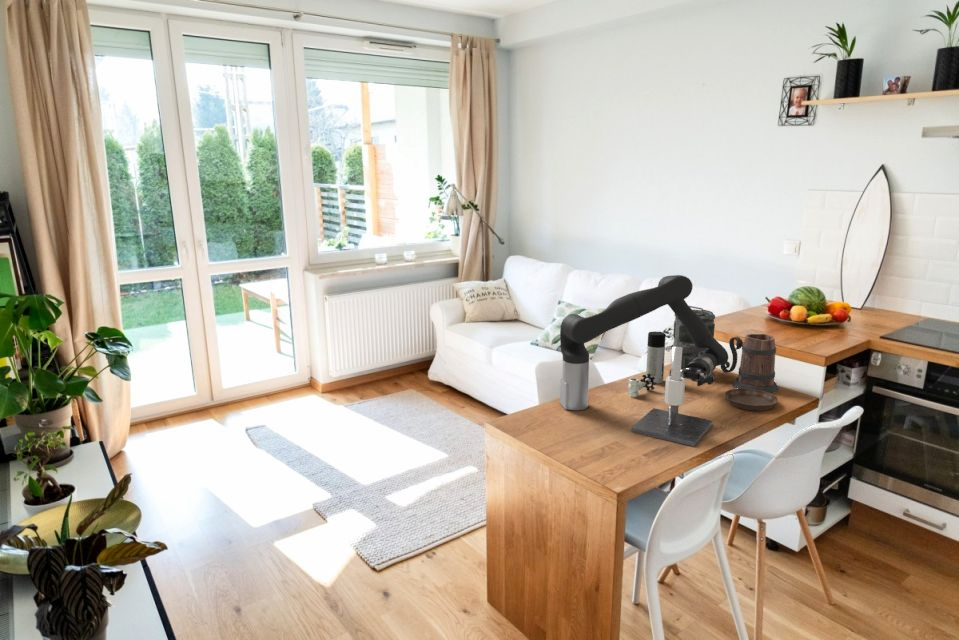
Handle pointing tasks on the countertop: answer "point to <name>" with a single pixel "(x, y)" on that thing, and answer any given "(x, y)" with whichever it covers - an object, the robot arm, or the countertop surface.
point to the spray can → (655, 356)
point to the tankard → (754, 362)
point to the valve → (639, 385)
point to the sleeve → (674, 391)
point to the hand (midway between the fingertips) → (685, 381)
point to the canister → (685, 340)
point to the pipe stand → (673, 416)
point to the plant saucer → (751, 399)
